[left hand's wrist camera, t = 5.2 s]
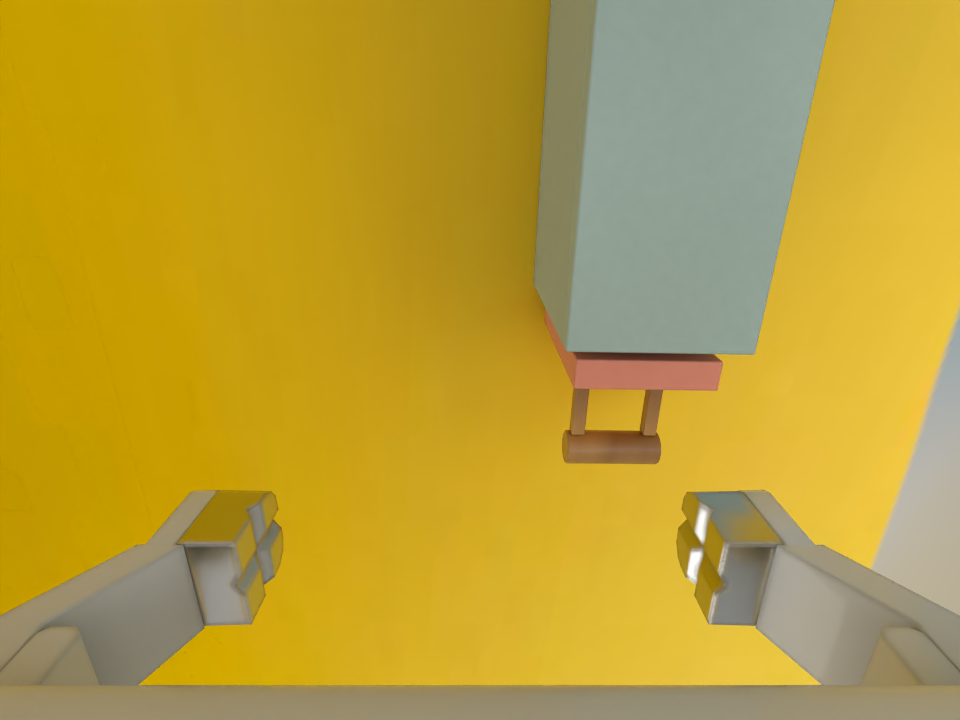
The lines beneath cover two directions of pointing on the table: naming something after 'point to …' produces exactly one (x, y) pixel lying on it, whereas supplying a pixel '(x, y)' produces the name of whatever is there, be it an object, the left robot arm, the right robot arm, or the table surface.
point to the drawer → (627, 374)
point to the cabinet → (670, 167)
